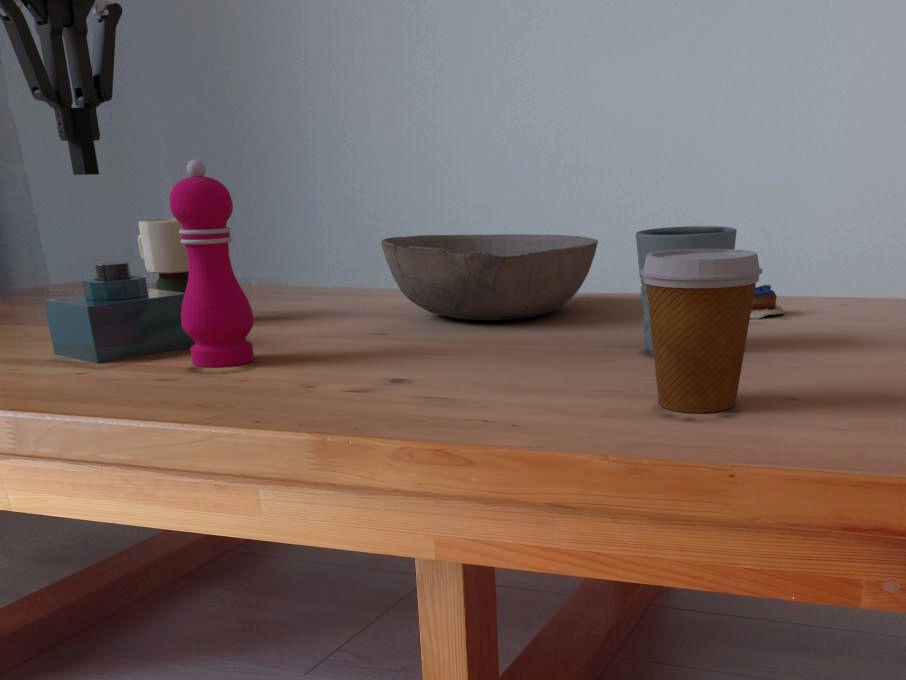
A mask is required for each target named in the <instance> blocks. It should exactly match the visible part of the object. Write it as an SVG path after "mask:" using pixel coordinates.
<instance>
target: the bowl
mask: <svg viewBox="0 0 906 680" xmlns="http://www.w3.org/2000/svg"><path fill="white" fill-rule="evenodd" d="M598 243H599V241H598V239H595V238H591V237H587V236H582V235H566V234H564V235H563V234H533V233H532V234H530V233H529V234H528V233H525V234H524V233H523V234H522V233H521V234H519V233H518V234H517V233H509V234H508V233H507V234H505V233H504V234H503V233H502V234H501V233H499V234H423V235H422V234H420V235H408V236H393V237H388V238H384V239H382V240H381V241H380V245H381V248H382V252H383V254H384V258H385V261H386V263H387V266H388V268H389V271H390V273H391V276H392V277H393V278H392V279H393V280H394V282H395V284H396V286H397V287H398V288H399V290H400V292H401V293H402V294H403V295H404V296H405V297H406V298H407V299H408V300H409V301H410V302H411V303H413V304H414V305H416V306H418V307H419V308H421V309H423V310H424V311H426V312H429V313H431V314H434V315H438V316H443V317H446V318H447V317H448V318H453V319H461V320H472V321H507V320H509V321H510V320H520V319H526V318H532V317H537V316H539V315H544V314H548V313H550V312H553V311H556V310H558V309H559V308H561V307H563V306H564V305H565V304H567V302H569V301H570V300H572V299H573V297H574V296H575V295H576V294H577V293H578V291H579V290H580V288H581V287H582V286H583V284H584V282H585V280H586V278H587V276H588V275H589V272H590V269H591V266H592V263H593V261H594V259H595V255H596V251H597V247H598Z"/></svg>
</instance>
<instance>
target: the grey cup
mask: <svg viewBox="0 0 906 680" xmlns="http://www.w3.org/2000/svg"><path fill="white" fill-rule="evenodd" d="M737 231H738V230H737V228H735V227H730V226H717V225H691V226H669V227H658V228H650V229H643V230H639V231H636V233H635V242H636V253H637V261H638V272H639V274H638V275H639V279H640V284H641V285H640V297H641V307H642V308H641V309H642V311H643V319H642V321H643V337H644V346H645V347H644V348H645V349H646V350H648V351H651V352H653V344H652V335H651V326H650V316H649V307H648V297H647V288H646V284H645V283H644V279H643V276H642V275H641V273H640V271H641V270H643V269H644V265H645V260H646V256H647V254H649V253H653V252H659V251H669V250H684V249H733V250H736V240H737Z"/></svg>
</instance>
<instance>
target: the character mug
mask: <svg viewBox="0 0 906 680" xmlns="http://www.w3.org/2000/svg"><path fill="white" fill-rule="evenodd" d="M138 229H139V235H138V236H137V243H138V249H139V255H140V258H141V259H142V260H143V261H144V266H145V269H146V271H147V272H150V273H152V274H158V277H157V280H156V283H155V289H158V290H166V291H175V292H183V293H185V291H186V287H187V283H188V277H189V263H188V255H187V251H186V246H185V244H182V243H181V239H182V238H181V234H180V233H179V230H181V229H183V227H182V225H181V224H180V223H179V222H178V220H177V219H176V218H175V217H173V218H154V219H143V220H138Z"/></svg>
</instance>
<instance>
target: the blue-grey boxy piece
mask: <svg viewBox="0 0 906 680" xmlns="http://www.w3.org/2000/svg"><path fill="white" fill-rule="evenodd" d="M131 277H132V278H130V279H122V280H109V281H97V277H96V276H94V277H89V278H88V277H87V278H84V279H82V281H81V282H82V287H83V293H84V294H82V295H75V296H66V297H65V296H64V297H58V298H50V299H43V303H44V308H45V313H46V319H47V324H48V328H49V333H50V338H51V344H52V348H53V353H54V355H57V356H60V357H61V356H62V357H66V358H70V359H75V360H80V361H84V362H89V363H93V364H98V365H99V364H104V363H110V362H115V361H122V360H128V359H133V358H139V357H144V356H149V355H156V354H161V353H167V352H173V351H179V350H184V349H190V348H191V347H192V346H194V345H195V344H196V343H195V341H194V340H193V339H192V338H191V337H190V336H189V335H188V334H187V333H186V332H185V331H184V330H183V328H182V323H181V310H182V303H183V299H184V295H185V293H183V292H175V291H166V290H158V289H156V288H149V287H148V282H147V276H146V275H145V274H143V275H142V274H131Z"/></svg>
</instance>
